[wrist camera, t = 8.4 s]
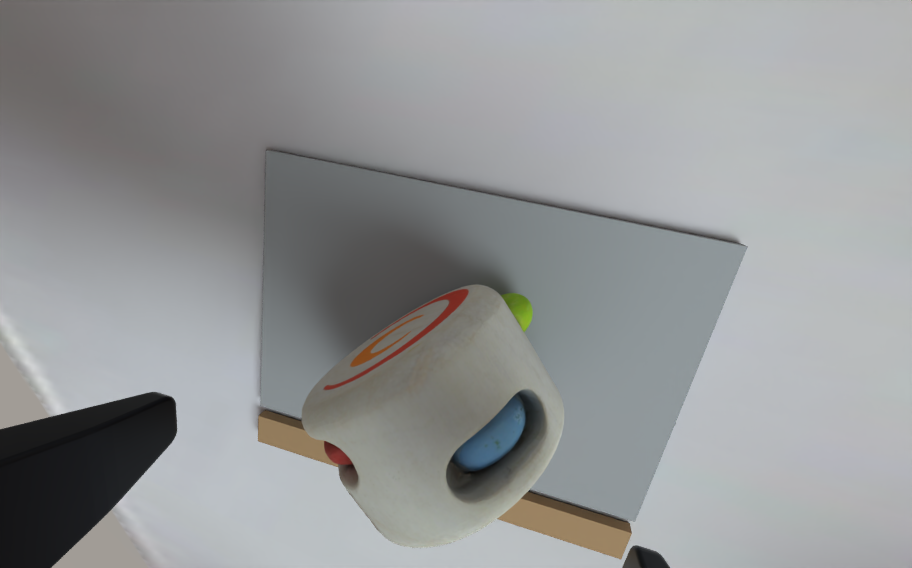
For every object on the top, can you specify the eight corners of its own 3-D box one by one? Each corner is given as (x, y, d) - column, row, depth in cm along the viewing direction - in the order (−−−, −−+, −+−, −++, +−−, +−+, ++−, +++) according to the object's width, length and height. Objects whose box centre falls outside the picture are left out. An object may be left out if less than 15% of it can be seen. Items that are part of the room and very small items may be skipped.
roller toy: (583, 376, 13) (603, 534, 7) (419, 444, 15) (341, 607, 10) (510, 252, 12) (474, 328, 7) (349, 342, 14) (226, 453, 9)
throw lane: (619, 549, 15) (621, 559, 14) (264, 434, 17) (258, 441, 17) (742, 244, 11) (749, 247, 11) (271, 149, 13) (264, 150, 13)
